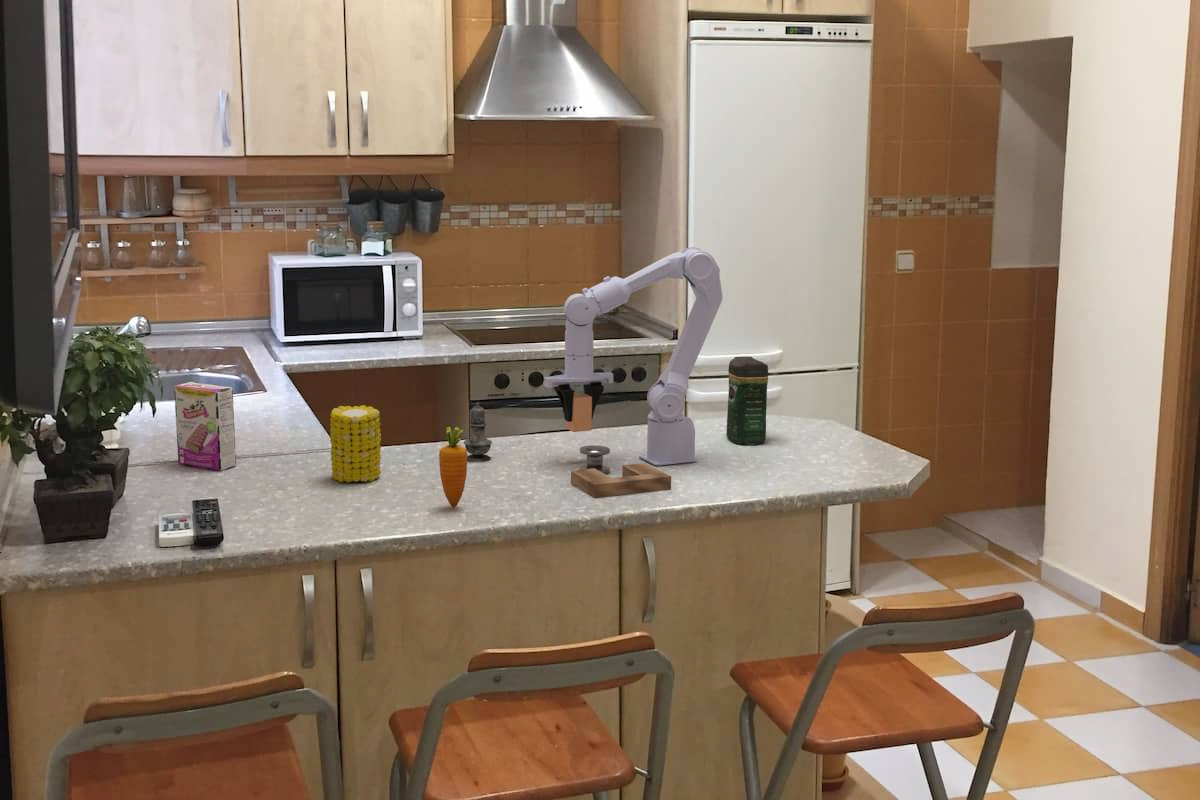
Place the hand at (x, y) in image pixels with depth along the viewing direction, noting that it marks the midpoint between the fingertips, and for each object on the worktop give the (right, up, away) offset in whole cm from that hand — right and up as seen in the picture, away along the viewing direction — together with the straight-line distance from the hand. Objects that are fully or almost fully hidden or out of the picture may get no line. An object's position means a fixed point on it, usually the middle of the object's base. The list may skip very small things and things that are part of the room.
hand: (578, 419), depth 267 cm
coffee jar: (+37, -5, +22) cm, 43 cm away
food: (-43, -11, -13) cm, 46 cm away
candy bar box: (-74, -9, -4) cm, 75 cm away
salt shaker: (-21, -8, +4) cm, 23 cm away
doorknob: (+3, -10, -5) cm, 12 cm away
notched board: (+8, -12, -16) cm, 22 cm away
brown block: (0, -2, 0) cm, 2 cm away
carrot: (-22, -16, -31) cm, 41 cm away
